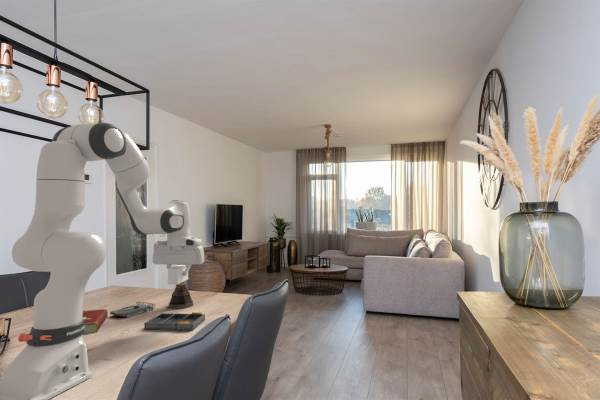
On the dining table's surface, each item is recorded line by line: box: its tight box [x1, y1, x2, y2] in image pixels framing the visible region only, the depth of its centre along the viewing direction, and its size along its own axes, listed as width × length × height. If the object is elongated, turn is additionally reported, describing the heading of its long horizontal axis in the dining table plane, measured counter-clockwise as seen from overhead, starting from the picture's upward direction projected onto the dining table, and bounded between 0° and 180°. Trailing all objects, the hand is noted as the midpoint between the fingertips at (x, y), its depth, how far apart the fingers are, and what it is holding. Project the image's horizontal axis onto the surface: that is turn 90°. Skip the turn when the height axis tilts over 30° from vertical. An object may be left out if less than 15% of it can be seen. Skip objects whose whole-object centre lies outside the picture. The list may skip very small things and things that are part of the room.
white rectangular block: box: [167, 264, 189, 285], centre depth 140 cm, size 10×4×6 cm, turn 176°
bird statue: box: [168, 264, 194, 310], centre depth 171 cm, size 17×13×35 cm
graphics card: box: [109, 301, 156, 318], centre depth 157 cm, size 17×4×12 cm
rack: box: [143, 311, 206, 332], centre depth 139 cm, size 14×19×3 cm
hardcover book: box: [83, 308, 109, 334], centre depth 139 cm, size 12×21×4 cm, turn 20°
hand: (178, 275), depth 140 cm, fingers closed on white rectangular block, 4 cm apart
